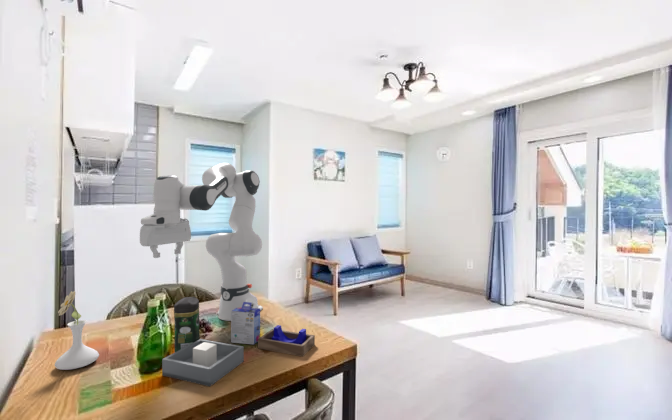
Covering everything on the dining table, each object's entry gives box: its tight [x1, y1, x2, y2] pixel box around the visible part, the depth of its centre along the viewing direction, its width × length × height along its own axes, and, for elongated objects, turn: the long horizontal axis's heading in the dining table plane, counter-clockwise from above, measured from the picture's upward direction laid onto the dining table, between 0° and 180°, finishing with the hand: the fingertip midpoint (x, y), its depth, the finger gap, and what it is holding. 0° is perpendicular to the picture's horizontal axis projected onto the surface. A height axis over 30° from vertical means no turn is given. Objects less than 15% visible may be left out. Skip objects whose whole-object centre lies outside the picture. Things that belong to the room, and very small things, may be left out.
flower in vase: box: [54, 290, 100, 371], centre depth 106 cm, size 13×11×25 cm
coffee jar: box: [173, 296, 201, 353], centre depth 117 cm, size 10×8×19 cm
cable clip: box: [272, 324, 307, 345], centre depth 122 cm, size 12×4×6 cm, turn 70°
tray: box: [161, 338, 245, 387], centre depth 104 cm, size 16×18×5 cm
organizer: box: [257, 328, 316, 357], centre depth 120 cm, size 10×18×4 cm, turn 70°
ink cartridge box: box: [230, 302, 261, 345], centre depth 125 cm, size 10×6×14 cm, turn 78°
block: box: [193, 342, 217, 367], centre depth 104 cm, size 5×5×6 cm
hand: (167, 255), depth 122 cm, fingers open, 8 cm apart
